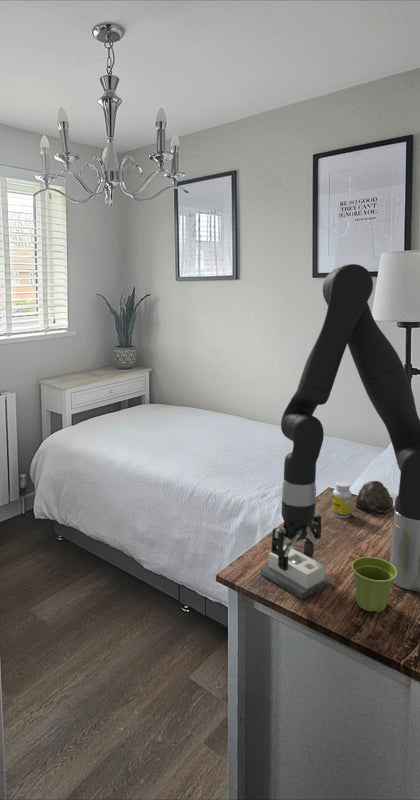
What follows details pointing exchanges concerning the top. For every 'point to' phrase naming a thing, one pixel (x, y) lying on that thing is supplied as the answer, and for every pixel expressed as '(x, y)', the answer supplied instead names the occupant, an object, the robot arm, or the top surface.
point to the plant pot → (373, 582)
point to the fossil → (374, 497)
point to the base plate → (292, 585)
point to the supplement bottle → (341, 500)
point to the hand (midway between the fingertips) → (295, 562)
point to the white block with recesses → (300, 568)
